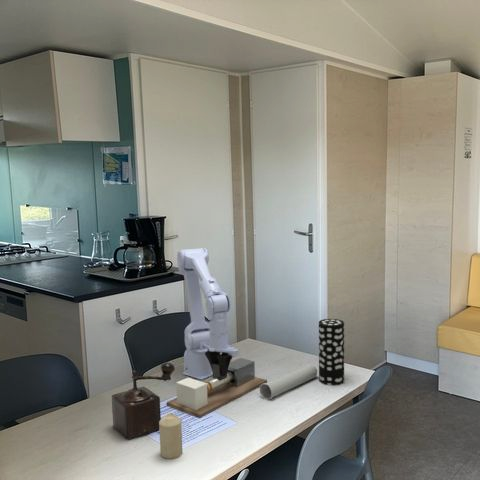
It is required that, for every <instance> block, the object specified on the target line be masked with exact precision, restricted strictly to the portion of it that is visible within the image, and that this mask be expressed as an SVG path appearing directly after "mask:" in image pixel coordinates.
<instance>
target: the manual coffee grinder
mask: <svg viewBox="0 0 480 480" xmlns="http://www.w3.org/2000/svg"><path fill="white" fill-rule="evenodd" d="M175 369H176V368H175V365H174V364H173V363H171V362H163V363H162V364H161V365H160V370H161V373H162V374H161V376H156V375H143V376H142V375H141V376H137V371H136V370H132V372H131V374H132V375H131V379H132V386H133V387H132V388H130V389H127V390H125V391H122V392H117V393H115V394H111V410H112V411H111V412H112V413H111V414H112V427H113V428H114V429H115V430H116V431H117V432H118V433H119V434H120V435H121V436H122V437H123V438H125V440H128V441H129V440H132V439H136V438H140V437H143V436H146V435H148V434H150V433H153V432H156V431H158V430H159V421H160V420H161V419H162V418H161V415H162V414H161V397H160V396H159V395H158V394H156V393H155V392H153V391H152V390H151V389H149V388H147V387H146V386H140V387H138V385H137V384H138V383H137V380H140V381H141V380H158V381H164V382H166V381H171V379H172V378H171V375H172V373H174V372H175ZM159 431H160V430H159Z"/></svg>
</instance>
